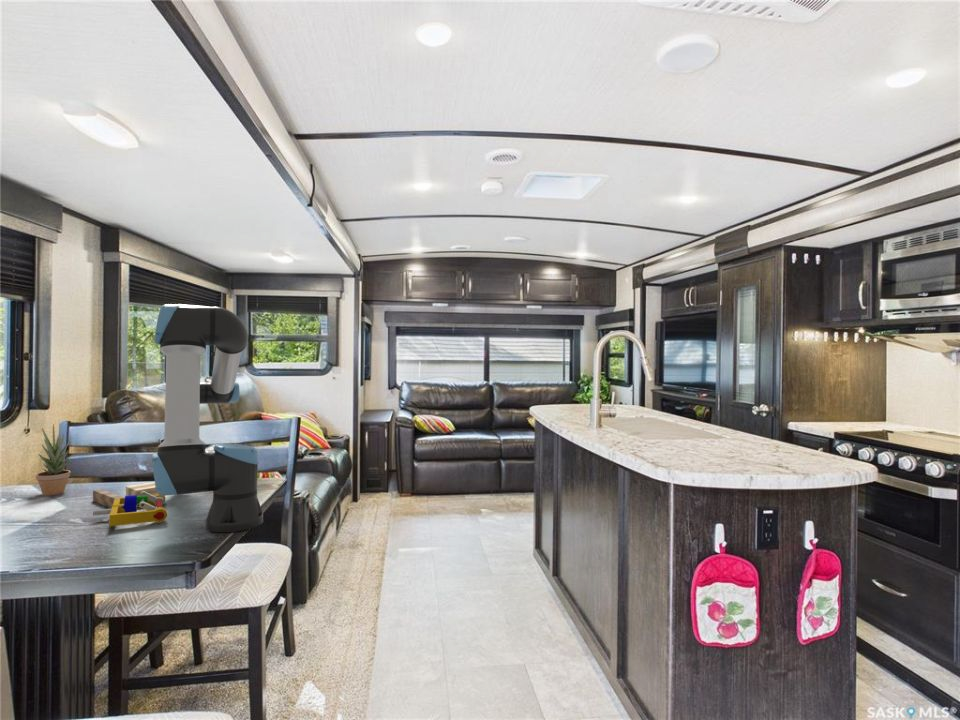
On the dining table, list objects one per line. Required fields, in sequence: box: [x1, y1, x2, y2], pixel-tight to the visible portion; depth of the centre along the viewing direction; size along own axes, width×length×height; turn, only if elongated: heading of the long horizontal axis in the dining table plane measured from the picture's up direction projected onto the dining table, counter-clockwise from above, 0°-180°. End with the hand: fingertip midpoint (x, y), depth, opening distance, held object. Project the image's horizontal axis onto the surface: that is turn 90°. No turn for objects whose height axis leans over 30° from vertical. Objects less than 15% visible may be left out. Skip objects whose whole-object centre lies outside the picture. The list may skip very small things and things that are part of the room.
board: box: [92, 488, 125, 509], centre depth 170 cm, size 18×2×4 cm, turn 55°
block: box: [125, 481, 158, 496], centre depth 181 cm, size 9×9×4 cm
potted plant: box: [35, 423, 73, 496], centre depth 183 cm, size 10×10×25 cm
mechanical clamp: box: [92, 491, 168, 527], centre depth 159 cm, size 18×6×30 cm
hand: (177, 483), depth 188 cm, fingers closed
